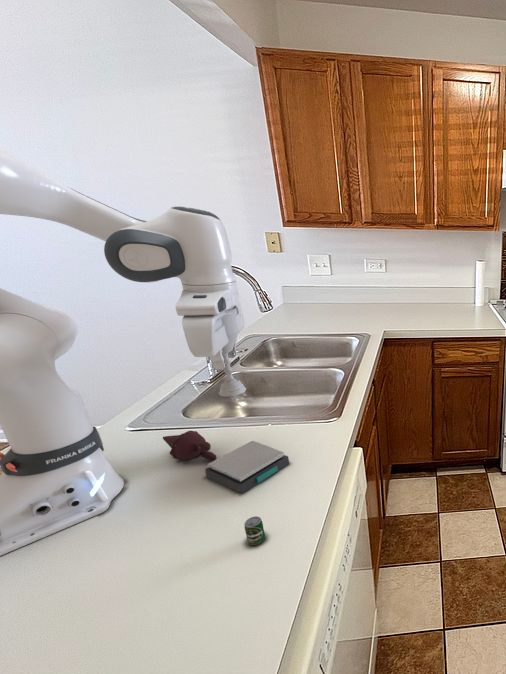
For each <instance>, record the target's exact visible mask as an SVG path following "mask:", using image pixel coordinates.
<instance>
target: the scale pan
mask: <svg viewBox="0 0 506 674" xmlns="http://www.w3.org/2000/svg"><path fill="white" fill-rule="evenodd" d="M284 455H285V452H284V451H282V450H279V449H276V448H273V447H271V446H269V445H266V444H263V443H260V442H257V441H256V440H251V441H249V442H247V443H245V444H244V445H241V446H239V447H237V448H236V449H233V450H232V451H230V452H228V453H226V454H224V455H222V456H220V457H218V458H216V460H214V461H210V462H209V463H207V468H208V467H209V468H211V469H213V470H216V471H218V472H220V473H222V474H225V475H227V476H229V477H231V478H233V479H236V480H238V481H240V482H241V481H243V480H244V479H246V478H248V477H249V476H251V475H253V474H254V473H256V472H258V471H259V470H261V469H263V468H264V467H266V466H268V465H269V464H271V463H273V462H274V461H276V460H278V459H279V458H281V457H283V456H284Z"/></svg>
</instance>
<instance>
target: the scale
mask: <svg viewBox="0 0 506 674" xmlns="http://www.w3.org/2000/svg"><path fill="white" fill-rule="evenodd" d="M289 465H290V459H289V455H286V454H284V456H283V457H281V458H279V459H278V460H276V461H274V462H273V463H271V464H269V465H268V466H266V467H264V468H263V469H261V470H259V471H258V472H256V473H254V474H253V475H251V476H249V477H248V478H246V479H244V480H243V481H241V482H240V481H238V480H236V479H233V478H231V477H229V476H227V475H225V474H222V473H220V472H218V471H216V470H213V469H211V468H209V467H208V466H207V467H206V468H205V469H204V471H205V475H206V478H208V479H209V480H211V481H214V482H216V483H218V484H220V485H222V486H224V487H226V488H229V489H231V490H233V491H235V492H237V493H239V494H244V493H246V492H248V491H249V490H251V489H252V488H254V487H256V486H258V484H260V483H262V482H263V481H265V480H266V479H268V478H270V477H271V476H273V475H275V474H276V473H277V472H280V471H281V470H283V469H284V468H286V467H287V466H289Z"/></svg>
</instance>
